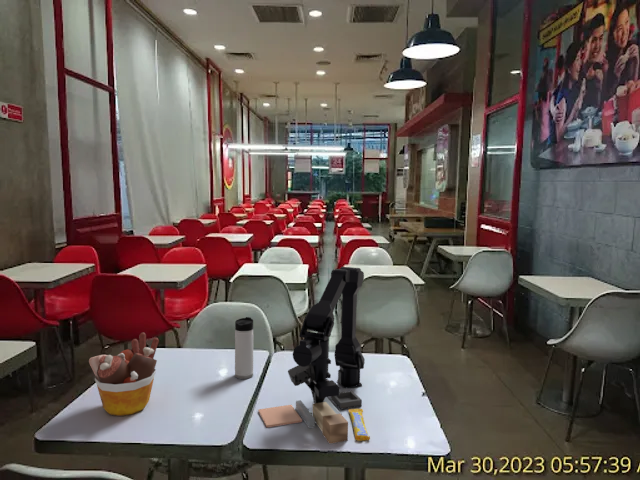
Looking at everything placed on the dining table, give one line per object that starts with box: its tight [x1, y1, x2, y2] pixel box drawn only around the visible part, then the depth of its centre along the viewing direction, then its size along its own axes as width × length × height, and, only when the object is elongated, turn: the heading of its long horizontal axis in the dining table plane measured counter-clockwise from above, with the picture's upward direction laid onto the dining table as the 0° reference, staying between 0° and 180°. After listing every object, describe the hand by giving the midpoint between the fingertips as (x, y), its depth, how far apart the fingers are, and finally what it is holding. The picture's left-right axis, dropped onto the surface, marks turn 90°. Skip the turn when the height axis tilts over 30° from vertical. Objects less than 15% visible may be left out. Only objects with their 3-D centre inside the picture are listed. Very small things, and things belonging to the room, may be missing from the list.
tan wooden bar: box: [312, 402, 336, 433], centre depth 125 cm, size 4×9×4 cm, turn 21°
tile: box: [257, 404, 303, 428], centre depth 130 cm, size 10×10×1 cm
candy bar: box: [348, 408, 371, 442], centre depth 125 cm, size 17×4×2 cm, turn 2°
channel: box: [295, 397, 343, 429], centre depth 130 cm, size 10×12×2 cm
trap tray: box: [330, 390, 363, 411], centre depth 139 cm, size 7×7×2 cm
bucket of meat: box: [88, 332, 160, 417], centre depth 133 cm, size 20×16×20 cm
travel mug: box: [234, 316, 254, 380], centre depth 158 cm, size 6×7×20 cm
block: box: [322, 413, 349, 445], centre depth 119 cm, size 5×5×5 cm
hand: (317, 408), depth 131 cm, fingers closed
